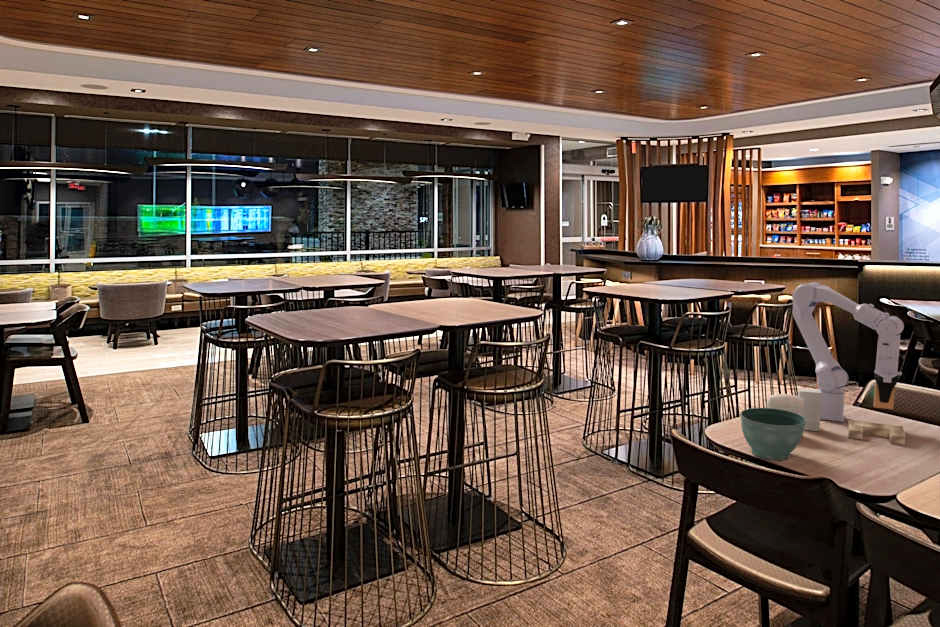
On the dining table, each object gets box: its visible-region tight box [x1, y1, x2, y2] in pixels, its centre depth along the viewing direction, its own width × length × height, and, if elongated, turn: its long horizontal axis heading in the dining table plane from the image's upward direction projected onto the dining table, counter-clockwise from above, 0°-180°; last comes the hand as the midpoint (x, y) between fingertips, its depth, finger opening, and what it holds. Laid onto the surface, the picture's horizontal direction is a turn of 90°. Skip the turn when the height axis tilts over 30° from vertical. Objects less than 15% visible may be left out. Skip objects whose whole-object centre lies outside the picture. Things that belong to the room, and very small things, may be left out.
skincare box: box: [797, 388, 822, 432], centre depth 210 cm, size 6×4×12 cm
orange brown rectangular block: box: [873, 382, 896, 410], centre depth 210 cm, size 5×3×7 cm, turn 62°
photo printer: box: [766, 393, 805, 417], centre depth 204 cm, size 10×4×12 cm, turn 73°
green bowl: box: [740, 407, 806, 461], centre depth 187 cm, size 16×16×11 cm
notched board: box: [847, 419, 907, 446], centre depth 203 cm, size 14×11×2 cm
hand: (883, 400), depth 210 cm, fingers closed on orange brown rectangular block, 3 cm apart
